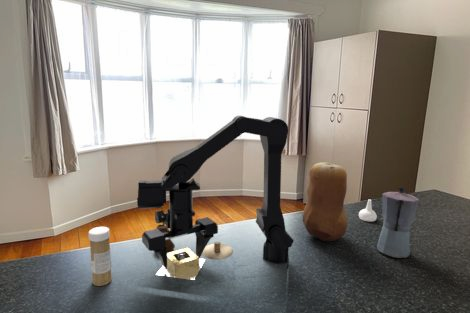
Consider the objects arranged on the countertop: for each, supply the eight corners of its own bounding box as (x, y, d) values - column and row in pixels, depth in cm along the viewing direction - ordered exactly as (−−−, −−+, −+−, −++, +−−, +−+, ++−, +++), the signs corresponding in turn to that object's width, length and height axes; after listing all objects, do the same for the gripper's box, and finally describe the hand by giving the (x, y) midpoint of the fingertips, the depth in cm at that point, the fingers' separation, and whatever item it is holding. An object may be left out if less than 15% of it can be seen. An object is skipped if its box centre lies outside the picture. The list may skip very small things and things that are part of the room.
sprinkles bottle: (94, 277, 77) (90, 226, 74) (113, 275, 78) (110, 225, 75) (90, 288, 73) (86, 235, 70) (111, 285, 74) (108, 233, 71)
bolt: (163, 238, 102) (167, 260, 88) (149, 233, 101) (151, 254, 86) (172, 223, 102) (177, 242, 88) (158, 217, 101) (161, 236, 86)
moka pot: (409, 245, 97) (418, 184, 93) (414, 269, 84) (424, 198, 80) (376, 238, 101) (383, 179, 97) (375, 260, 88) (383, 193, 84)
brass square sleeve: (199, 268, 80) (199, 257, 79) (175, 276, 76) (175, 265, 76) (188, 257, 85) (187, 247, 85) (165, 264, 82) (164, 253, 81)
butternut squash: (344, 232, 105) (351, 160, 101) (346, 251, 93) (354, 170, 88) (302, 227, 109) (307, 157, 104) (299, 244, 96) (305, 166, 92)
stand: (235, 248, 93) (235, 237, 92) (229, 264, 84) (229, 252, 83) (206, 245, 94) (206, 234, 94) (197, 260, 86) (197, 248, 85)
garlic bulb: (359, 222, 116) (362, 203, 113) (357, 215, 122) (359, 196, 119) (377, 224, 114) (380, 204, 112) (374, 216, 120) (376, 197, 118)
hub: (205, 262, 85) (205, 247, 84) (194, 283, 75) (194, 266, 74) (171, 258, 87) (171, 243, 86) (155, 278, 77) (155, 261, 76)
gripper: (199, 191, 89) (199, 242, 92) (134, 203, 79) (136, 259, 82) (219, 203, 80) (218, 258, 83) (148, 217, 70) (150, 280, 73)
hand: (181, 263), depth 81 cm, fingers open, 9 cm apart
